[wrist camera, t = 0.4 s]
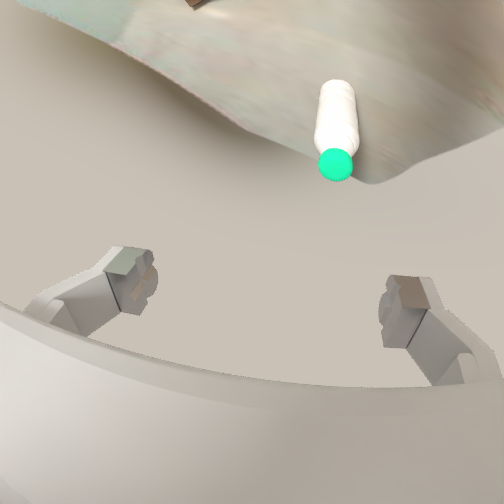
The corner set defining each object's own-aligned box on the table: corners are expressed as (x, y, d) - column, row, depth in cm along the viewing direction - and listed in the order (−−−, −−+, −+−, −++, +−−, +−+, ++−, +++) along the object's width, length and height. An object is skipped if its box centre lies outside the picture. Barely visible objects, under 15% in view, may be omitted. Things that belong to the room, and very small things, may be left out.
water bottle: (312, 93, 51) (298, 169, 38) (336, 71, 45) (334, 140, 32) (338, 114, 53) (335, 197, 40) (362, 94, 48) (372, 173, 35)
